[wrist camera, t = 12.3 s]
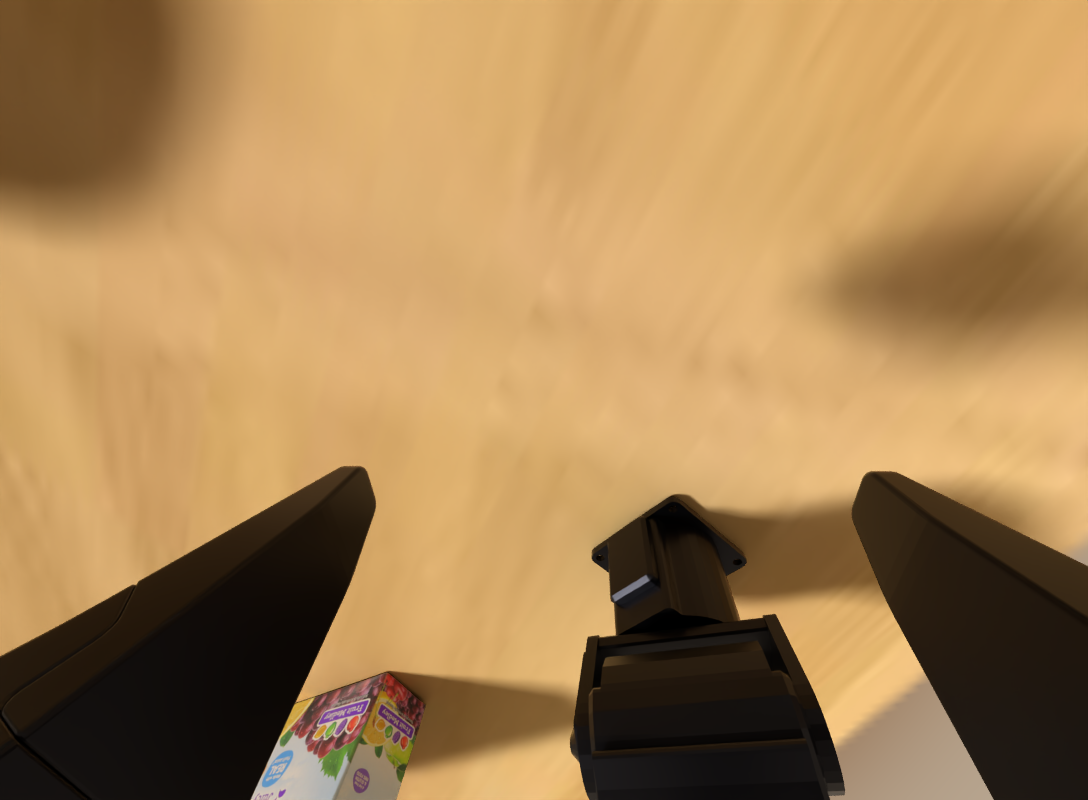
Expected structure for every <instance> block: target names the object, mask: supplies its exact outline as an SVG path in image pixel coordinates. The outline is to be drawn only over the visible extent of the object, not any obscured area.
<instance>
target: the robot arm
mask: <svg viewBox="0 0 1088 800" xmlns="http://www.w3.org/2000/svg"><path fill="white" fill-rule="evenodd" d="M672 505H675V507H670V506H672ZM375 508H376V500H375V496H374V492H373V489H372V486H371V483H370V479H369V476H368V473H367V471H366V469H365V468H364V467H361V466H343V467H340V468H338V469H336V470H334V471H333V472H331V473H329V474H327V475H326V476H324V477H322V478H320V479H319V480H317V481H315V482H313V483H311V484H310V485H308V486H306V487H304V488H303V489H301V490H299V491H297V492H296V493H294V494H292V495H290V496H288V497H287V498H285V499H283V500H281V501H280V502H278V503H276V504H274V505H273V506H271V507H269V508H267V509H266V510H264V511H262V512H260V513H258V514H257V515H255V516H253V517H251V518H250V519H248V520H246V521H244V522H243V523H241V524H239V525H237V526H235V527H234V528H232V529H230V530H228V531H227V532H225V533H223V534H221V535H220V536H218V537H216V538H214V539H212V540H211V541H209V542H207V543H205V544H204V545H202V546H200V547H198V548H197V549H195V550H193V551H191V552H190V553H188V554H186V555H184V556H182V557H181V558H179V559H177V560H175V561H174V562H172V563H170V564H168V565H167V566H165V567H163V568H161V569H159V570H158V571H156V572H154V573H152V574H151V575H149V576H147V577H145V578H144V579H142V580H140V581H139V582H138V583H137V585H131V586H129V587H127V588H126V589H124V590H122V591H120V592H119V593H117V594H115V595H113V596H112V597H110V598H108V599H106V600H105V601H103V602H101V603H99V604H97V605H95V606H94V607H92V608H90V609H88V610H86V611H85V612H83V613H81V614H79V615H77V616H76V617H74V618H72V619H70V620H68V621H66V622H65V623H63V624H61V625H59V626H57V627H55V628H53V629H52V630H50V631H48V632H46V633H44V634H42V635H40V636H38V637H36V638H34V639H32V640H31V641H29V642H27V643H25V644H23V645H21V646H19V647H17V648H15V649H13V650H11V651H9V652H8V653H6V654H4V655H2V656H0V800H251V798H252V796H253V794H254V791H255V789H256V787H257V785H258V783H259V781H260V778H261V776H262V774H263V772H264V770H265V768H266V765H267V763H268V761H269V759H270V757H271V755H272V752H273V750H274V748H275V746H276V744H277V742H278V739H279V737H280V735H281V733H282V731H283V729H284V726H285V724H286V722H287V720H288V718H289V716H290V713H291V711H292V709H293V707H294V705H295V703H296V700H297V698H298V696H299V694H300V692H301V690H302V687H303V685H304V683H305V681H306V679H307V677H308V674H309V672H310V670H311V668H312V666H313V664H314V661H315V659H316V657H317V655H318V653H319V651H320V648H321V646H322V644H323V642H324V640H325V638H326V635H327V633H328V631H329V629H330V627H331V625H332V622H333V620H334V618H335V616H336V614H337V612H338V609H339V607H340V605H341V603H342V601H343V599H344V596H345V594H346V592H347V589H348V587H349V585H350V582H351V580H352V577H353V574H354V572H355V569H356V566H357V563H358V560H359V557H360V554H361V551H362V548H363V545H364V542H365V539H366V536H367V533H368V530H369V528H370V525H371V522H372V519H373V516H374V513H375ZM852 519H853V522H854V525H855V527H856V530H857V532H858V535H859V537H860V539H861V542H862V544H863V547H864V549H865V552H866V554H867V556H868V559H869V561H870V564H871V566H872V568H873V571H874V573H875V576H876V578H877V580H878V583H879V585H880V588H881V590H882V592H883V594H884V597H885V599H886V601H887V603H888V605H889V607H890V609H891V611H892V613H893V615H894V617H895V619H896V621H897V623H898V624H899V626H900V628H901V630H902V632H903V634H904V635H905V637H906V639H907V641H908V643H909V645H910V647H911V648H912V650H913V652H914V654H915V656H916V658H917V659H918V661H919V663H920V665H921V667H922V669H923V670H924V672H925V674H926V676H927V678H928V680H929V681H930V683H931V685H932V687H933V689H934V691H935V692H936V694H937V696H938V698H939V700H940V701H941V703H942V705H943V707H944V709H945V711H946V713H947V715H948V716H949V718H950V720H951V722H952V724H953V725H954V727H955V729H956V731H957V733H958V735H959V737H960V738H961V740H962V742H963V744H964V746H965V747H966V749H967V751H968V753H969V755H970V757H971V758H972V760H973V762H974V764H975V766H976V768H977V770H978V771H979V773H980V775H981V777H982V779H983V781H984V783H985V784H986V786H987V788H988V790H989V792H990V794H991V795H992V797H993V799H994V800H1088V566H1086V565H1084V564H1082V563H1080V562H1078V561H1076V560H1074V559H1072V558H1070V557H1068V556H1066V555H1064V554H1062V553H1060V552H1058V551H1056V550H1054V549H1052V548H1050V547H1048V546H1046V545H1044V544H1042V543H1040V542H1038V541H1035V540H1033V539H1031V538H1029V537H1027V536H1025V535H1023V534H1021V533H1019V532H1017V531H1015V530H1013V529H1011V528H1009V527H1007V526H1005V525H1003V524H1001V523H999V522H997V521H995V520H993V519H991V518H989V517H987V516H985V515H983V514H981V513H978V512H976V511H974V510H972V509H970V508H968V507H966V506H964V505H962V504H960V503H958V502H956V501H954V500H952V499H950V498H948V497H946V496H944V495H942V494H940V493H938V492H936V491H934V490H932V489H930V488H928V487H926V486H923V485H921V484H919V483H917V482H915V481H913V480H911V479H909V478H907V477H905V476H903V475H901V474H899V473H897V472H891V471H871V472H868V473H866V474H865V475H864V477H863V479H862V481H861V484H860V487H859V490H858V492H857V495H856V498H855V501H854V504H853V507H852ZM599 555H602V556H599ZM735 559H737V560H735ZM592 560H593V561H594V562H595V563H596V564H598V565H599V566H600V567H602V568H603V569H604V570H606V571H607V572H609V581H610V599H611V601H612V602H613V603H614V610H615V628H616V635H615V636H607V637H599V635H598V636H590V637H588V639H587V645H586V652H584V655H583V661H582V668H581V675H580V682H579V689H578V696H577V703H576V709H575V716H574V728H573V731H572V734H571V737H570V748H571V752H572V754H573V755H574V757H575V758H576V759H577V760H578V761H579V763H580V768H581V773H582V778H583V783H584V786H585V790H586V793H587V795H588V798H589V800H830V798H829V796H832V795H834V796H835V795H844V794H845V788H844V781H843V777H842V772H841V768H840V765H839V761H838V757H837V754H836V751H835V748H834V744H833V741H832V738H831V735H830V732H829V730H828V727H827V724H826V721H825V718H824V716H823V713H822V710H821V708H820V705H819V703H818V701H817V698H816V696H815V693H814V691H813V689H812V687H811V685H810V683H809V681H808V679H807V677H806V675H805V673H804V671H803V669H802V667H801V665H800V663H799V661H798V659H797V656H796V654H795V652H794V650H793V648H792V646H791V644H790V642H789V640H788V638H787V636H786V634H785V632H784V630H783V628H782V626H781V624H780V622H779V620H778V618H777V616H776V614H772V615H763V618H757V619H748V620H740V617H739V614H738V611H737V608H736V605H735V602H734V599H733V596H732V593H731V589H730V586H729V583H728V580H727V577H726V576H727V575H729V574H731V573H732V572H734V571H736V570H738V569H740V568H741V567H743V566H744V565H745V564H746V563H747V561H746V558H745V555H744V553H743V552H742V551H740V550H739V549H738V548H737V547H736V546H735V545H733V544H732V543H731V542H730V541H729V540H727V539H726V538H725V537H724V536H723V535H721V534H720V533H719V532H718V531H717V530H716V529H714V528H713V527H712V526H711V525H710V524H708V523H707V522H706V521H705V520H704V519H703V518H701V517H700V516H699V515H698V514H697V513H695V512H694V511H693V510H692V509H691V508H689V507H688V506H687V505H686V504H685V503H684V502H682V501H681V500H680V499H678V498H677V497H669V498H667V499H665V500H664V501H662V502H661V503H659V504H658V505H656V506H655V507H653V508H652V509H650V510H649V511H648V512H646V513H645V514H643V515H642V516H640V517H638V518H637V519H636V520H634V521H633V522H631V523H630V524H628V525H627V526H625V527H624V528H622V529H621V530H619V531H618V532H617V533H615V534H614V535H612V536H611V537H609V538H608V539H607V540H605V541H604V542H602V543H601V544H600V545H598V546H597V547H595V548H594V549H593V550H592Z"/></svg>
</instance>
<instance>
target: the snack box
mask: <svg viewBox="0 0 1088 800" xmlns="http://www.w3.org/2000/svg"><path fill="white" fill-rule="evenodd" d="M425 706H426V704H424V703H422V702H421V701H420V700H419V699H418V698H416V697H415V696H414V695H413V694H412V693H411V692H410V691H408V690H407V689H406V688H405V687H404V686H403V685H402V684H401V683H400V682H398V681H397V680H396V679H395V678H394V677H393V676H391V675H390V674H389V673H383V674H380V675H377V676H375V677H372V678H369V679H366V680H363V681H360V682H358V683H355V684H352V685H349V686H346V687H343V688H340V689H337V690H334V691H331V692H328V693H325V694H322V695H319V696H317V697H314V698H310V699H307V700H305V701H302V702H299V703H296V704H295V705H294V707H293V709H292V711H291V713H290V716H289V718H288V720H287V722H286V724H285V726H284V729H283V731H282V733H281V735H280V737H279V739H278V742H277V744H276V746H275V748H274V750H273V752H272V755H271V757H270V759H269V761H268V763H267V765H266V768H265V770H264V772H263V774H262V776H261V778H260V781H259V783H258V785H257V787H256V789H255V791H254V794H253V796H252V798H251V800H396V799H397V796H398V792H399V789H400V786H401V783H402V779H403V777H404V773H405V770H406V767H407V764H408V761H409V757H410V754H411V751H412V748H413V745H414V742H415V738H416V735H417V732H418V729H419V726H420V723H421V719H422V716H423V713H424V710H425Z"/></svg>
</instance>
